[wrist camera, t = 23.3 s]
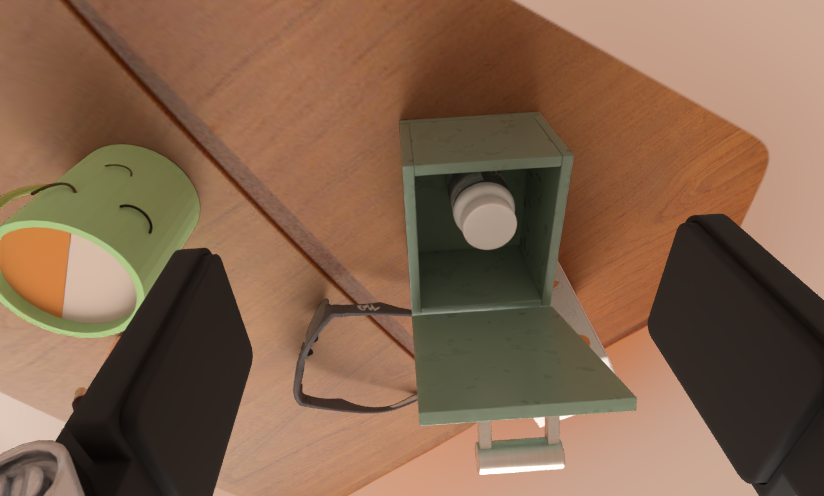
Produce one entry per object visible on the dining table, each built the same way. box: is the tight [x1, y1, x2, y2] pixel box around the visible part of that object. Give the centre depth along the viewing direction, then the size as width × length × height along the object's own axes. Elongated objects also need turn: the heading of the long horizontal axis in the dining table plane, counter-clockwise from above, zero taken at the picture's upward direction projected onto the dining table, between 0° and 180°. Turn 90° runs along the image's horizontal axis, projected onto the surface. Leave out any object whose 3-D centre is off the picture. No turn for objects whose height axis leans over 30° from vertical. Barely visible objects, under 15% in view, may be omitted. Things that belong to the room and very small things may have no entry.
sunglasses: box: [293, 298, 422, 413], centre depth 52 cm, size 16×17×5 cm
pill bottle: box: [446, 170, 517, 250], centre depth 38 cm, size 5×5×8 cm
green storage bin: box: [399, 112, 574, 316], centre depth 39 cm, size 14×12×9 cm
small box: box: [534, 261, 617, 427], centre depth 45 cm, size 8×6×13 cm
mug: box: [0, 144, 200, 338], centre depth 36 cm, size 13×10×12 cm
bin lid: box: [412, 306, 637, 475], centre depth 33 cm, size 14×12×6 cm
